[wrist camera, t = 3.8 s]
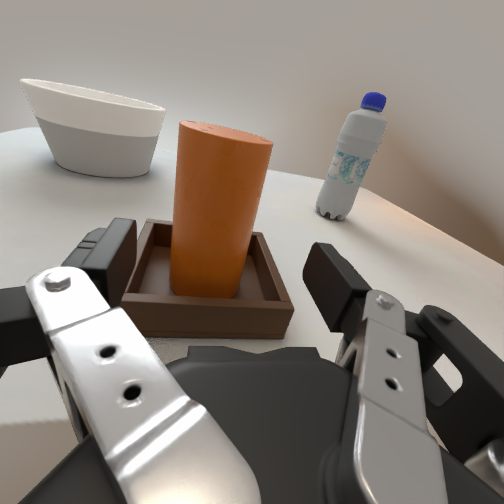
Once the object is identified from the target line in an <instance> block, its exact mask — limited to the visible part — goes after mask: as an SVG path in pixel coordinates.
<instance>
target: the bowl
mask: <svg viewBox="0 0 504 504" xmlns="http://www.w3.org/2000/svg"><path fill="white" fill-rule="evenodd" d="M20 84H21V86H22V89H23V91H24V93H25V95H26V97H27V100H28V101H29V104H30V106H31V108H32V110H33V112H34V114H35V116H36V119H37V121H38V123H39V125H40V128H41V130H42V132H43V134H44V136H45V139H46V141H47V143H48V145H49V147H50V150H51V152H52V154H53V156H54V158H55V161H56V163H57V164H58V165H59V166H61V167H63V168H65V169H68V170H71V171H74V172H78V173H82V174H87V175H93V176H101V177H116V178H121V177H135V176H140V175H143V174H146V173H147V172H148V171H149V168H150V164H151V161H152V157H153V154H154V151H155V147H156V144H157V140H158V136H159V134H160V131H161V127H162V124H163V120H164V117H165V113H166V110H165V109H164V108H162V107H160V106H157V105H154V104H151V103H147V102H144V101H140V100H136V99H132V98H128V97H124V96H120V95H115V94H111V93H107V92H102V91H98V90H93V89H88V88H83V87H78V86H73V85H67V84H62V83H56V82H50V81H43V80H35V79H20Z"/></svg>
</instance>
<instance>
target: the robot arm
mask: <svg viewBox="0 0 504 504" xmlns="http://www.w3.org/2000/svg"><path fill="white" fill-rule="evenodd" d="M136 259H137V224H136V220H132V219H123V218H114V219H113V221H112V222H111V223H110V225H109V226H108V228H107V229H106V228H98V229H96V230H94V231H92V232H89V233H88V234H87V235H86V236H85V237H84V239H83V240H82V242H80V243H79V244H78V246H77V248H75V249H74V250H73V252H72V253H71V254H70V255H69V256H68V258H67V259H66V260H65V261H64V262H63V263H62V265H61V266H60V267H55V268H50V269H46V270H43V271H41V272H38V273H36V274H35V275H33V276H32V277H30V278H29V279H28V281H27V282H26V285H25V286H21V287H13V288H5V289H0V378H1V377H2V375H3V374H4V372H5V371H6V369H7V367H8V366H10V365H14V364H18V363H23V362H27V361H31V360H36V359H40V358H44V357H46V360H47V363H48V365H49V367H50V370H51V372H52V375H53V377H54V380H55V382H56V385H57V387H58V389H59V392H60V394H61V397H62V399H63V402H64V404H65V407H66V410H67V413H68V416H69V419H70V421H71V424H72V427H73V430H74V432H75V435H76V437H77V440H78V442H79V444H78V445H77V446H76V447H75V448H74V449H73V450H72V451H71V452H70V453H69V454H68V455H67V456H66V457H65V458H64V459H63V460H62V461H61V462H60V463H59V464H58V465H57V466H56V467H55V468H54V469H53V470H52V471H51V472H50V473H49V474H48V475H47V476H46V477H45V478H43V479H42V481H40V483H38V485H37V486H35V487H34V488H33V489H32V490H31V491H30V492H29V493H28V494H27V495H26V496H25V497H24V498H23V499H22V500H21V501H20V502H19V503H18V504H504V362H503V361H502V360H501V359H500V358H499V357H498V356H497V355H496V354H494V353H493V352H492V351H491V350H490V349H489V348H488V347H487V346H486V345H485V344H484V343H483V342H482V341H481V340H480V339H478V338H477V337H476V336H475V335H474V334H473V333H472V332H471V331H470V330H469V329H468V328H467V327H466V326H465V325H463V324H462V323H461V322H460V321H459V320H458V319H457V318H456V317H455V316H453V315H452V314H450V313H449V312H447V311H445V310H443V309H441V308H439V307H436V306H432V305H426V306H424V307H423V309H422V310H421V312H420V313H419V314H416V313H413V312H409V311H406V310H404V307H403V305H402V304H401V303H400V302H399V301H398V300H397V299H396V298H395V297H393V296H391V295H390V294H388V293H385V292H383V291H379V290H373V289H372V288H371V287H370V286H369V285H368V283H367V282H366V281H365V280H364V279H363V278H362V277H361V275H360V274H358V272H357V271H356V270H355V269H354V267H353V266H352V265H351V264H350V263H349V262H348V261H347V260H346V259H345V258H343V257H342V256H341V255H340V254H339V253H338V252H337V250H336V249H335V248H334V247H333V246H332V245H331V244H326V243H318V242H315V243H314V244H313V245H312V247H311V250H310V253H309V255H308V258H307V261H306V263H305V266H304V269H303V281H304V283H305V285H306V287H307V289H308V290H309V292H310V294H311V296H312V298H313V300H314V302H315V304H316V305H317V307H318V309H319V311H320V313H321V315H322V317H323V319H324V321H325V322H326V324H327V326H328V328H329V330H330V332H337V333H343V334H344V335H343V337H342V339H341V341H340V345H339V348H338V352H337V356H336V360H335V363H333V362H331V361H329V360H326V359H323V358H320V355H319V353H318V351H317V349H316V347H285V348H281V349H277V350H273V351H269V352H265V353H261V354H254V353H250V352H245V351H241V350H237V349H232V348H228V347H224V346H188V354H187V357H185V358H181V359H178V360H175V361H173V362H170V363H168V364H166V365H164V364H163V363H162V361H161V360H160V359H159V357H158V356H157V354H156V353H155V352H154V350H153V349H152V348H151V346H150V345H149V344H148V342H147V341H146V340H145V338H144V337H143V336H142V334H141V333H140V332H139V330H138V329H137V328H136V326H135V325H134V324H133V322H132V321H131V320H130V318H129V317H128V316H127V314H126V313H125V312H124V310H123V309H122V308H121V307H119V305H120V302H121V300H122V297H123V295H124V293H125V290H126V288H127V285H128V283H129V280H130V278H131V275H132V273H133V270H134V268H135V265H136ZM443 353H444V354H445V355H446V356H447V357H448V359H449V360H450V361H451V362H452V363H453V364H454V366H455V367H456V368H457V369H458V370H459V371H460V373H461V375H462V379H463V383H462V386H461V387H460V388H459V389H458V390H457V391H456V392H455V393H454V392H453V391H452V390H451V388H450V387H449V386H448V384H447V383H446V382H445V381H444V379H443V378H442V377H441V376H440V374H439V373H438V372H437V371H436V369H435V368H434V367H433V365H434V363H435V362H436V361H437V360H438V359H439V358H440V357H441V356H442V354H443ZM426 417H427V418H428V420H429V422H430V423H431V425H432V426H433V428H434V430H435V431H436V432H437V434H438V436H439V437H440V439H441V440H442V442H443V443H444V445H445V447H446V448H447V450H448V451H449V452H448V451H446V450H445V449H444V448H443V447H441V446H440V445H439V444H438V442H437V440H436V439H435V438H434V437H433V436H432V435H431V434H430V433H429V431H428V427H427V419H426Z"/></svg>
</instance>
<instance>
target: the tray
mask: <svg viewBox="0 0 504 504" xmlns="http://www.w3.org/2000/svg"><path fill="white" fill-rule="evenodd" d="M172 226H173V222H171V221H163V220H155V219H147V220H146V222H145V225H144V227H143V229H142V231H141V233H140V235H139V238H138V240H137V259H136V265H135V268H134V270H133V273H132V275H131V278H130V280H129V283H128V285H127V288H126V290H125V293H124V295H123V297H122V300H121V302H120V305H119V307H121V308H122V309H123V310H124V312H125V313H126V314H127V316H128V317H129V318H130V320H131V321H132V322H133V324H134V325H135V326H136V328H137V329H138V330H139V332H140V333H141V334H142V336H143V337H193V338H254V339H283V338H284V335H285V332H286V330H287V327H288V325H289V322H290V320H291V317H292V315H293V312H294V307H293V305H292V302H291V300H290V298H289V295H288V293H287V291H286V288H285V286H284V283H283V281H282V279H281V276H280V274H279V272H278V269H277V267H276V265H275V262H274V260H273V257H272V255H271V253H270V250H269V248H268V246H267V243H266V241H265V239H264V237H263V234H262V233H260V232H252V235H251V239H250V243H249V247H248V251H247V255H246V260H245V264H244V268H243V272H242V276H241V280H240V285H239V289H238V291H237V293H236V294H235V295H234V296H233V297H232V298H230V299H226V298H208V297H190V296H179V295H178V294H176V293H175V292H174V291H173V289H172V288H171V286H170V283H169V272H170V257H171V241H172Z"/></svg>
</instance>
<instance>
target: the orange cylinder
mask: <svg viewBox="0 0 504 504" xmlns="http://www.w3.org/2000/svg"><path fill="white" fill-rule="evenodd" d="M272 147H273V142H271V141H269V140H267V139H265V138H262V137H259V136H257V135H253V134H250V133H247V132H243V131H239V130H235V129H231V128H227V127H222V126H217V125H213V124H207V123H201V122H194V121H181V122H179V136H178V151H177V166H176V181H175V196H174V211H173V226H172V241H171V257H170V272H169V283H170V286H171V288H172V289H173V291H174V292H175V293H176V294H178V295H179V296H190V297H208V298H226V299H230V298H232V297H233V296H234V295H235V294H236V293H237V291H238V289H239V285H240V280H241V276H242V272H243V268H244V264H245V260H246V255H247V251H248V247H249V243H250V239H251V235H252V230H253V226H254V222H255V218H256V214H257V210H258V205H259V201H260V197H261V193H262V189H263V184H264V180H265V176H266V172H267V167H268V164H269V159H270V155H271V151H272Z"/></svg>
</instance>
